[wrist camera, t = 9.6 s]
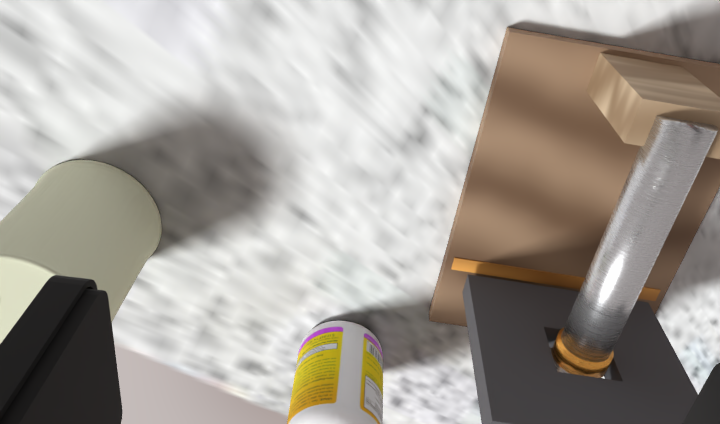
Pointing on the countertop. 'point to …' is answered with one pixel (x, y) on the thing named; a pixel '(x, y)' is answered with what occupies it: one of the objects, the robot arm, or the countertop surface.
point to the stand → (570, 163)
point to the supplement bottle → (338, 376)
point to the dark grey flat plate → (557, 389)
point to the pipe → (631, 243)
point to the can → (76, 235)
